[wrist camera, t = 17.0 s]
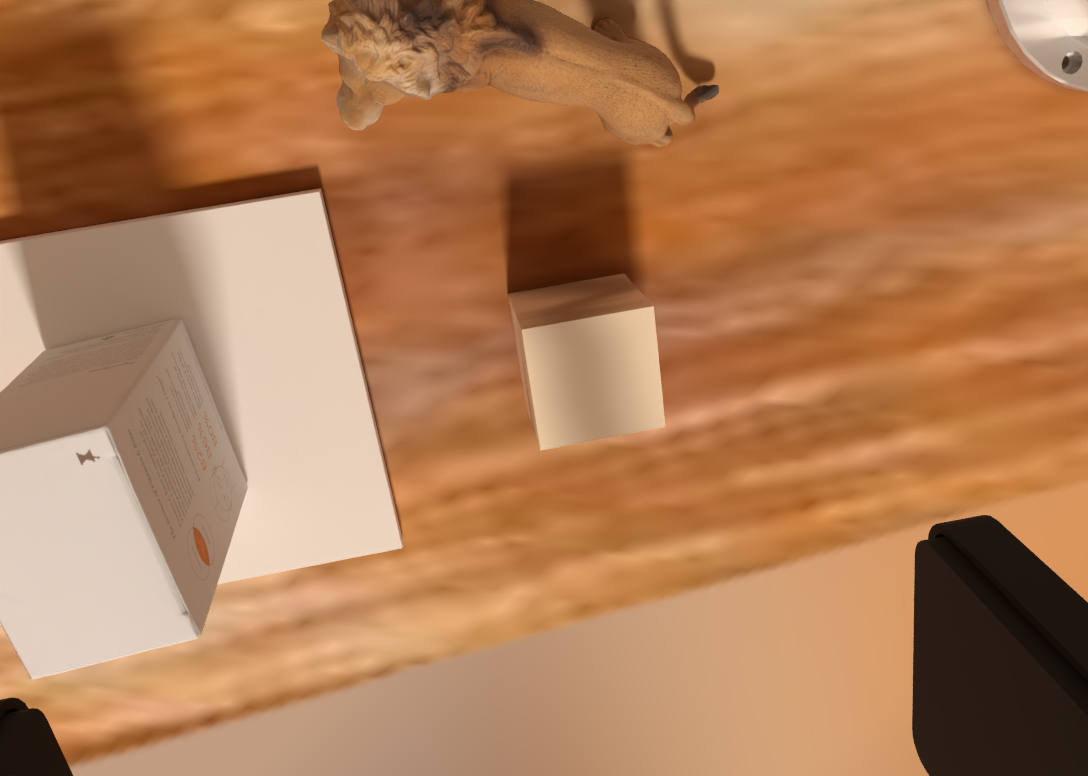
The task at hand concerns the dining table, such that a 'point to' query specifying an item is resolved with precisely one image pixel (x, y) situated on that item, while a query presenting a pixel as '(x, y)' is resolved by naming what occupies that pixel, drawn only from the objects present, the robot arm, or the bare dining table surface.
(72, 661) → the small box
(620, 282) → the birch block
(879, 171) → the dining table surface
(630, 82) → the lion figurine
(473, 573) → the dining table surface
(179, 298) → the mat
